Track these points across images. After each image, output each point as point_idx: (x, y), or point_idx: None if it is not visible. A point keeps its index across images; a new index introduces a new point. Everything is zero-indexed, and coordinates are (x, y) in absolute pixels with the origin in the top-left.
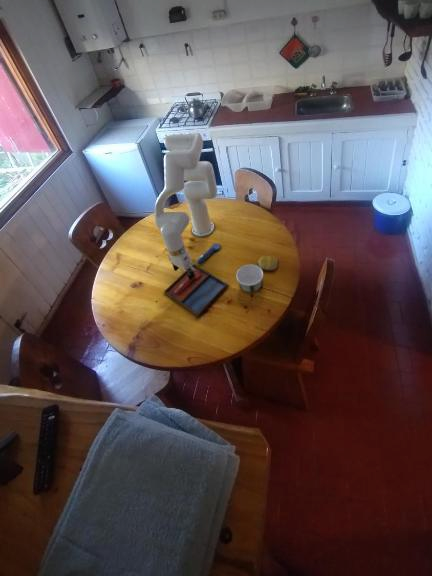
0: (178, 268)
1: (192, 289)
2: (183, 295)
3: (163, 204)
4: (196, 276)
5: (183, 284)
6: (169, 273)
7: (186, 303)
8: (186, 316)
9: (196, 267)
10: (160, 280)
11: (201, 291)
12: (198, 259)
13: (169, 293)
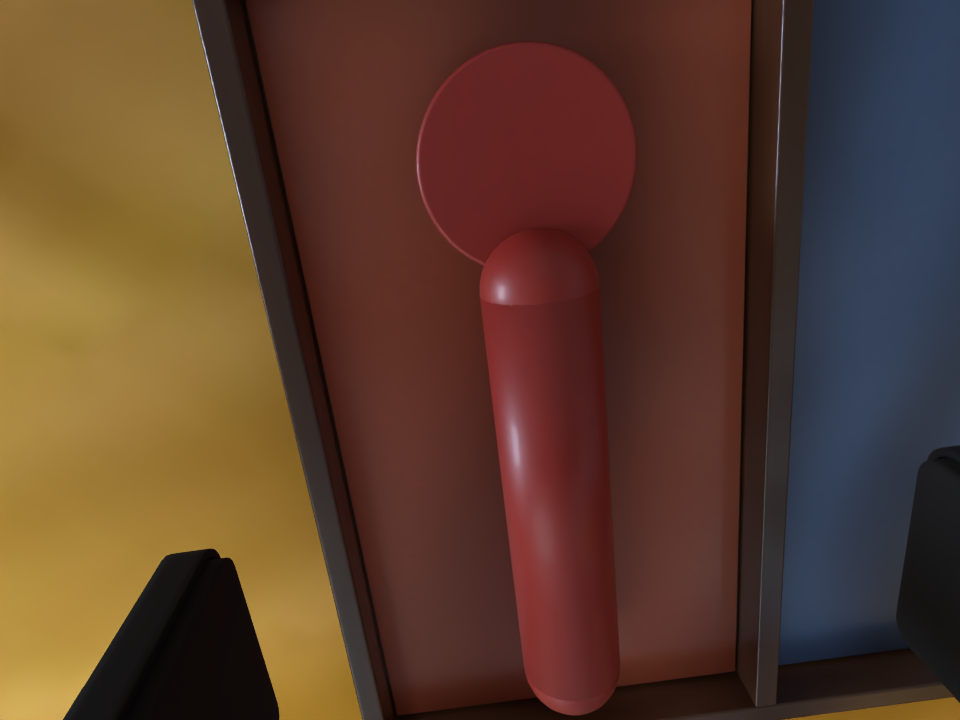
0: (251, 628)
1: (705, 421)
2: (664, 586)
3: None
4: (585, 189)
5: (576, 549)
6: (25, 467)
7: (811, 631)
8: (926, 711)
9: None
10: (77, 644)
11: (880, 340)
12: None
13: (448, 698)
